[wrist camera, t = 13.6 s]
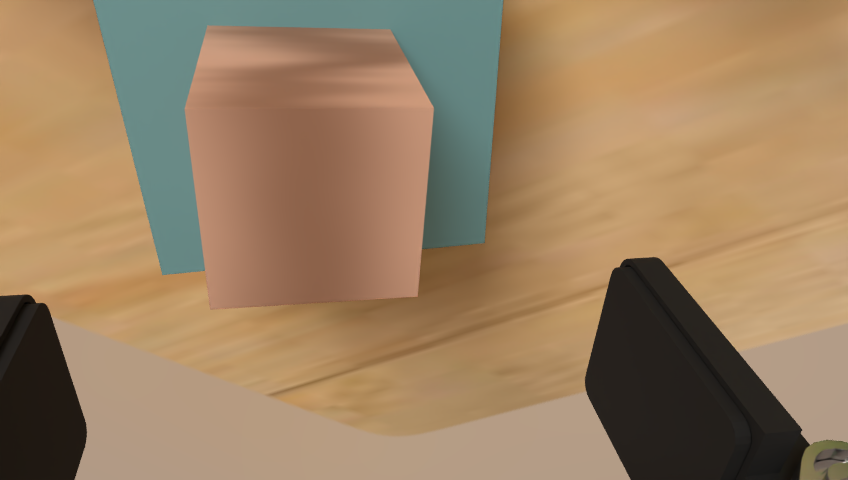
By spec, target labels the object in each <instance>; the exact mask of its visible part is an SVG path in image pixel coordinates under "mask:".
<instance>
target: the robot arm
mask: <svg viewBox="0 0 848 480" xmlns="http://www.w3.org/2000/svg"><path fill="white" fill-rule="evenodd" d="M585 386H586V392H587V395H588V397H589V399H590V401H591V403H592V405H593V407H594V409H595V411H596V413H597V415H598V417H599V419H600V421H601V423H602V425H603V427H604V429H605V430H606V432H607V434H608V436H609V438H610V440H611V442H612V444H613V446H614V448H615V450H616V452H617V454H618V456H619V458H620V460H621V462H622V463H623V465H624V467H625V469H626V471H627V473H628V475H629V477H630V479H631V480H848V443H847V442H843V441H832V440H824V441H820V442H815V443H813V444H812V445H810V444H809V443H808V442H807V441H806V440H805V438H804V437H803V436H802V435H801V431H802V429H801V428H800V426H799V425H798V424H797V423H796V421H795V420H794V419H793V418H792V417H791V416H790V414H789V413H788V412H787V411H786V409H785V408H784V407H783V406H782V405H781V403H780V402H779V401H778V400H777V399H776V397H775V396H774V395H773V394H772V393H771V391H769V389H768V388H767V387H766V386H765V384H764V383H763V382H762V381H761V379H760V378H759V377H758V376H757V375H756V373H755V372H754V371H753V370H752V369H751V367H750V366H749V365H748V364H747V363H746V361H745V360H744V359H743V358H742V357H741V355H740V354H739V353H738V352H737V351H736V349H735V348H734V347H733V346H732V345H731V343H730V342H729V341H728V340H727V339H726V337H725V336H724V335H723V334H722V332H721V331H720V330H719V329H718V328H717V326H716V325H715V324H714V323H713V322H712V320H711V319H710V318H709V317H708V316H707V314H706V313H705V312H704V311H703V310H702V308H701V307H700V306H699V305H698V304H697V302H696V301H695V300H694V299H693V298H692V296H691V295H690V294H689V293H688V292H687V290H686V289H685V288H684V287H683V286H682V284H681V283H680V282H679V281H678V280H677V278H676V277H675V276H674V275H673V274H672V272H671V271H670V270H669V269H668V268H667V266H666V265H665V264H664V263H663V262H662V261H661V260H660V259H659V258H656V257H651V258H634V259H626V260H624V261H623V262H622V263H621V266H620V267H618V268H615V269H614V270H613V271H612V274H611V277H610V281H609V285H608V289H607V293H606V297H605V301H604V305H603V309H602V313H601V317H600V321H599V325H598V329H597V333H596V337H595V341H594V345H593V348H592V352H591V356H590V360H589V364H588V368H587V372H586V377H585ZM86 437H87V429H86V422H85V419H84V416H83V413H82V410H81V406H80V404H79V401H78V397H77V394H76V391H75V388H74V385H73V382H72V379H71V376H70V373H69V370H68V367H67V364H66V360H65V357H64V354H63V351H62V348H61V345H60V342H59V339H58V336H57V333H56V330H55V327H54V324H53V321H52V318H51V314H50V311H49V309H48V307H47V305H46V304H44V303H36V302H35V300H34V299H33V297H32V296H30V295H11V296H0V480H74V479H75V476H76V473H77V470H78V467H79V464H80V460H81V457H82V454H83V451H84V448H85V444H86Z"/></svg>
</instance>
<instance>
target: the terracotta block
mask: <svg viewBox="0 0 848 480" xmlns="http://www.w3.org/2000/svg"><path fill="white" fill-rule="evenodd" d="M433 113H434V107H433V105H432V104H431V102H430V100H429V98H428V96H427V95H426V93H425V91H424V89H423V87H422V86H421V84H420V82H419V80H418V78H417V77H416V75H415V73H414V71H413V69H412V68H411V66H410V64H409V62H408V60H407V58H406V57H405V55H404V53H403V51H402V49H401V48H400V46H399V44H398V42H397V40H396V39H395V37H394V35H393V33H392V31H391V30H390V29H347V28H301V27H255V26H209V25H207V29H206V33H205V36H204V40H203V44H202V47H201V51H200V55H199V58H198V62H197V65H196V69H195V73H194V76H193V80H192V84H191V87H190V91H189V95H188V98H187V102H186V106H185V116H186V124H187V132H188V140H189V147H190V155H191V163H192V171H193V179H194V187H195V194H196V202H197V210H198V218H199V226H200V234H201V241H202V249H203V257H204V265H205V273H206V281H207V288H208V296H209V304H210V310H211V309H227V308H243V307H259V306H275V305H291V304H307V303H323V302H339V301H355V300H371V299H387V298H403V297H418V287H419V275H420V264H421V252H422V241H423V229H424V217H425V206H426V194H427V183H428V171H429V160H430V148H431V137H432V125H433Z"/></svg>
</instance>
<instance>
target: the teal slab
mask: <svg viewBox="0 0 848 480" xmlns="http://www.w3.org/2000/svg"><path fill="white" fill-rule="evenodd" d="M93 1H94V5H95V9H96V13H97V17H98V21H99V25H100V29H101V33H102V37H103V41H104V45H105V49H106V53H107V57H108V61H109V65H110V69H111V73H112V77H113V81H114V85H115V89H116V93H117V97H118V100H119V104H120V108H121V112H122V116H123V120H124V124H125V128H126V132H127V136H128V140H129V144H130V148H131V152H132V156H133V160H134V164H135V168H136V172H137V176H138V180H139V184H140V188H141V192H142V196H143V200H144V204H145V207H146V211H147V215H148V219H149V223H150V227H151V231H152V235H153V239H154V243H155V247H156V251H157V255H158V259H159V263H160V267H161V271H162V275H167V274H177V273H187V272H198V271H205V265H204V257H203V249H202V241H201V234H200V226H199V218H198V210H197V202H196V194H195V187H194V179H193V171H192V163H191V155H190V147H189V140H188V132H187V124H186V116H185V106H186V102H187V98H188V95H189V91H190V87H191V84H192V80H193V76H194V73H195V69H196V65H197V62H198V58H199V55H200V51H201V47H202V44H203V40H204V36H205V33H206V29H207V25H209V26H255V27H301V28H347V29H390V30H391V31H392V33H393V35H394V37H395V39H396V40H397V42H398V44H399V46H400V48H401V49H402V51H403V53H404V55H405V57H406V58H407V60H408V62H409V64H410V66H411V68H412V69H413V71H414V73H415V75H416V77H417V78H418V80H419V82H420V84H421V86H422V87H423V89H424V91H425V93H426V95H427V96H428V98H429V100H430V102H431V104H432V105H433V107H434V113H433V125H432V137H431V148H430V160H429V171H428V183H427V194H426V206H425V217H424V229H423V241H422V249H429V248H439V247H449V246H459V245H470V244H480V243H485V230H486V217H487V204H488V191H489V178H490V165H491V152H492V139H493V126H494V113H495V100H496V87H497V74H498V62H499V49H500V36H501V23H502V10H503V0H93Z"/></svg>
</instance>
